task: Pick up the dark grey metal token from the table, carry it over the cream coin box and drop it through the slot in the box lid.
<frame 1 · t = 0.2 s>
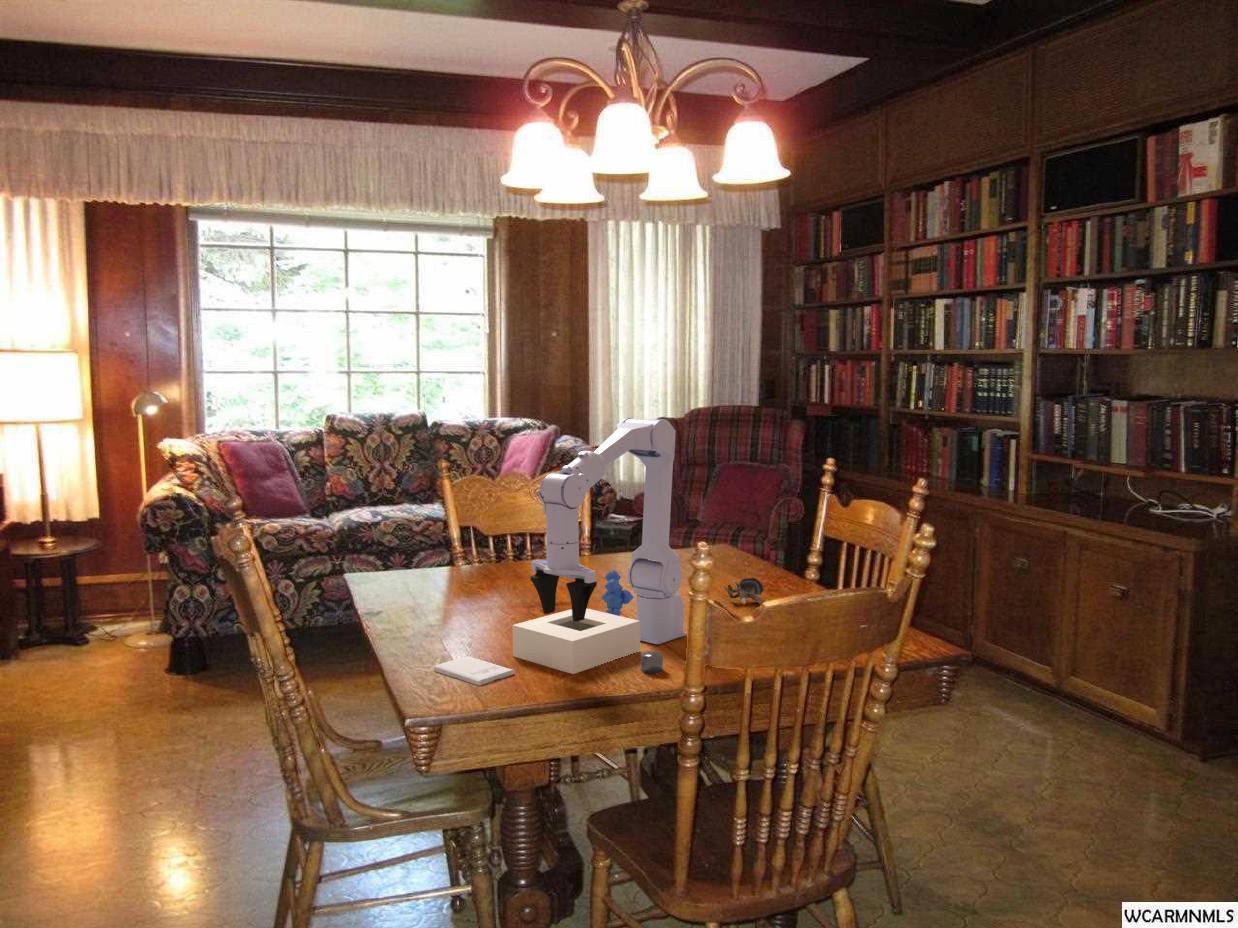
hand: (563, 616, 177), 10 cm above the table, tool pointing down, fingers open, 7 cm apart
token: (651, 670, 178), on the table
grapes: (617, 625, 208), on the table
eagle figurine: (747, 605, 224), on the table
external hard drive: (474, 676, 177), on the table
coin box: (576, 653, 188), on the table
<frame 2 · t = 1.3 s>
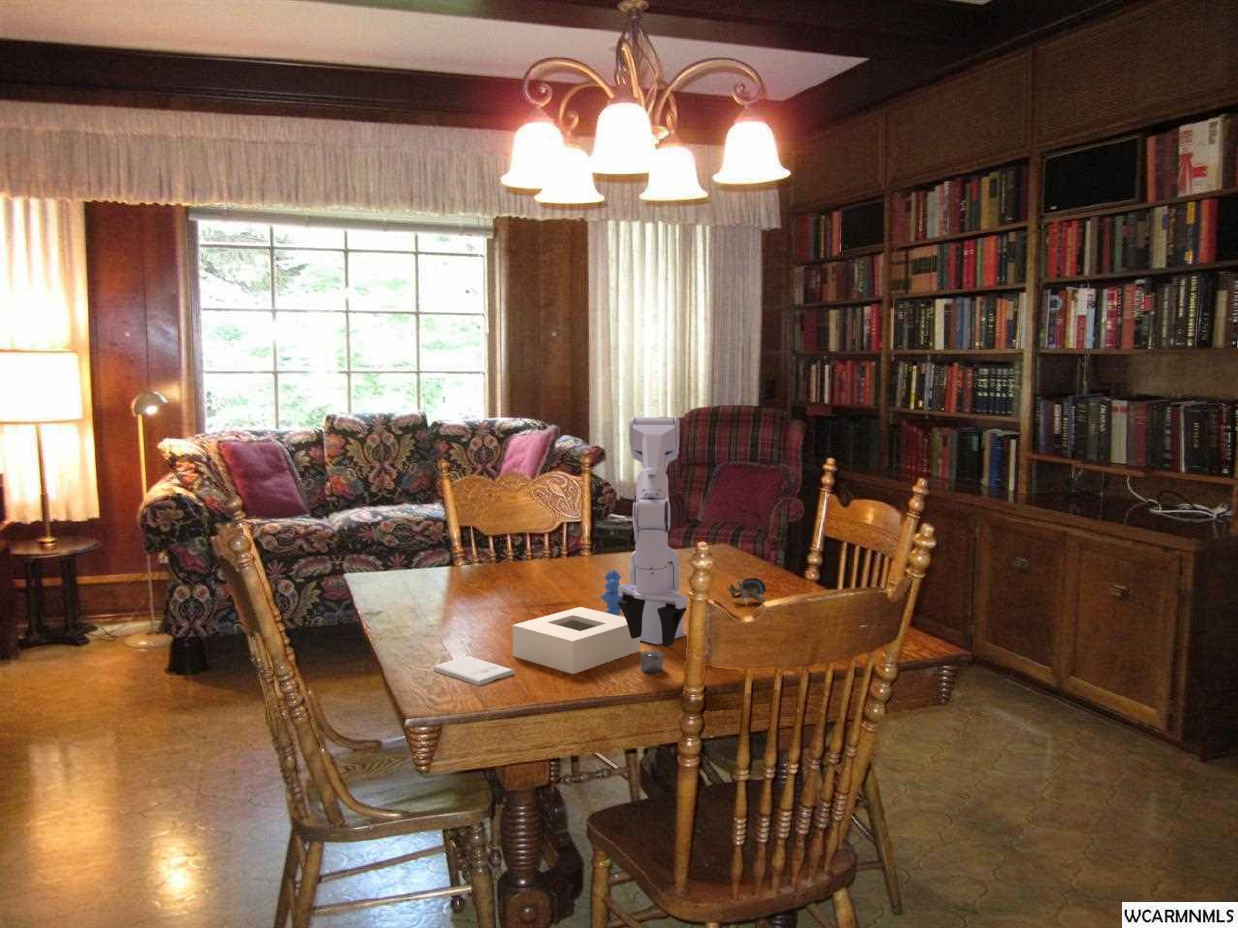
hand: (651, 641, 177), 5 cm above the table, tool pointing down, fingers open, 7 cm apart
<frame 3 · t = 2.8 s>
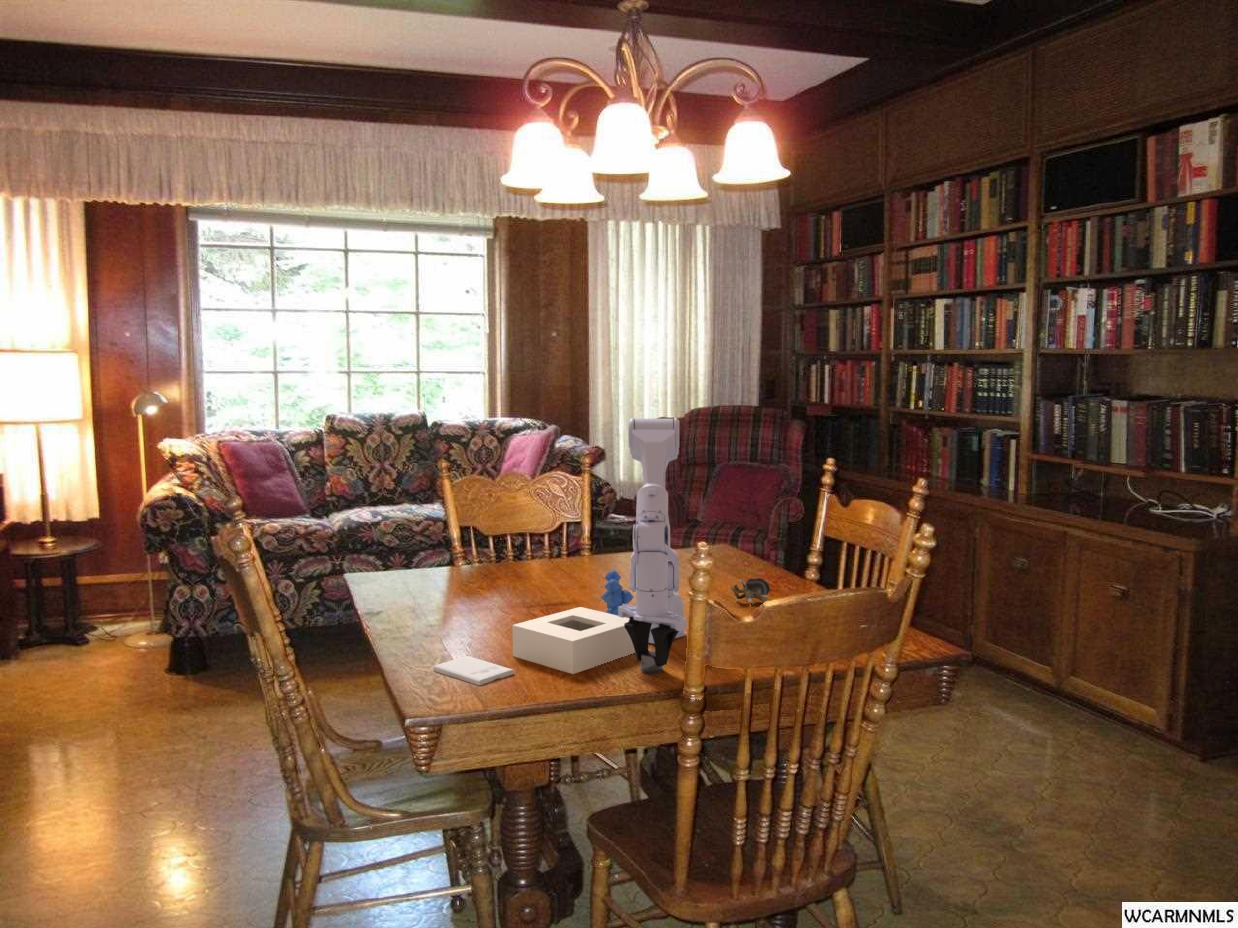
hand: (651, 662, 177), 1 cm above the table, tool pointing down, fingers closed on token, 4 cm apart
token: (651, 670, 178), on the table, touching gripper
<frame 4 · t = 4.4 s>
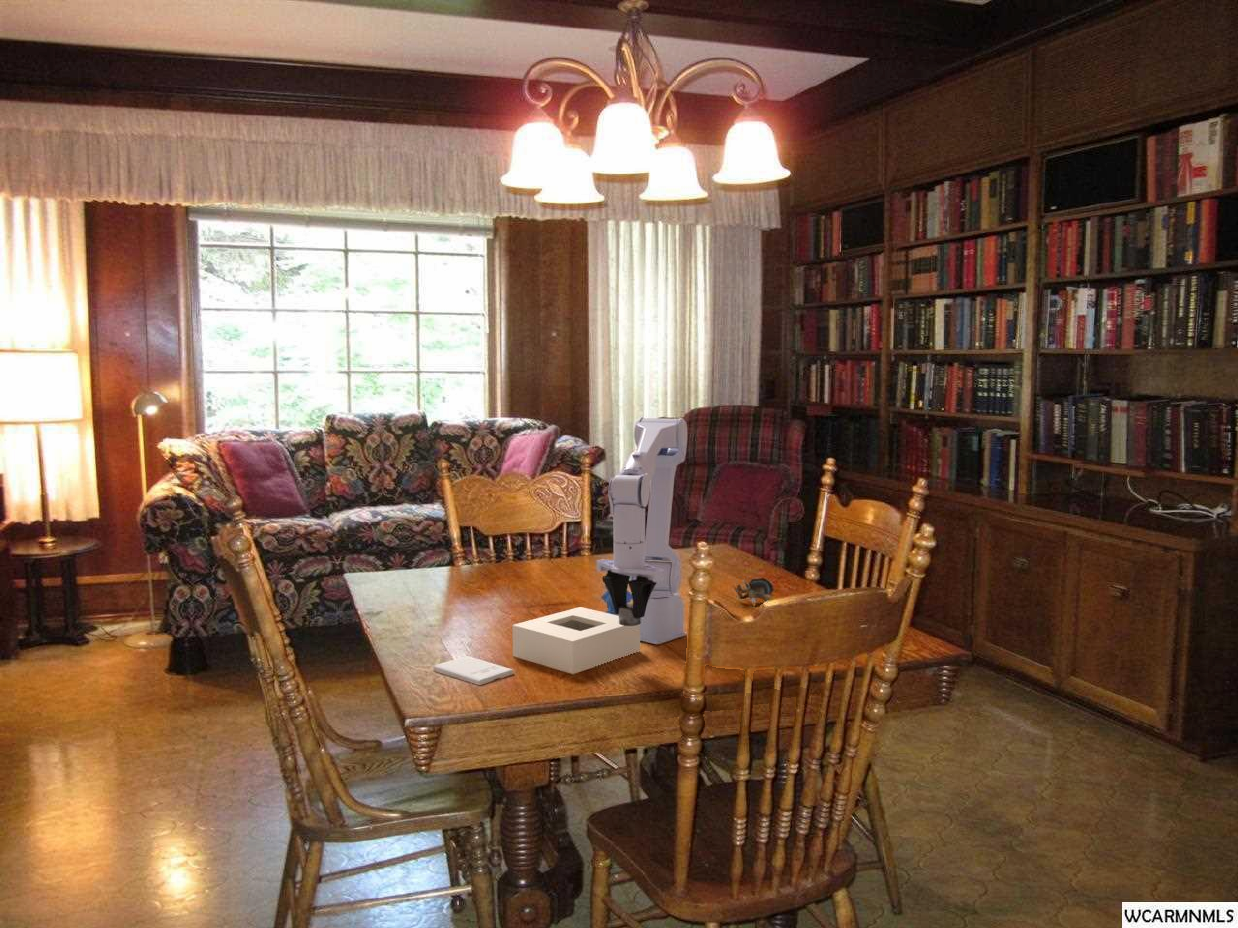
hand: (629, 615, 179), 9 cm above the table, tool pointing down, fingers closed on token, 4 cm apart
token: (629, 622, 180), point 8 cm above the table, touching gripper
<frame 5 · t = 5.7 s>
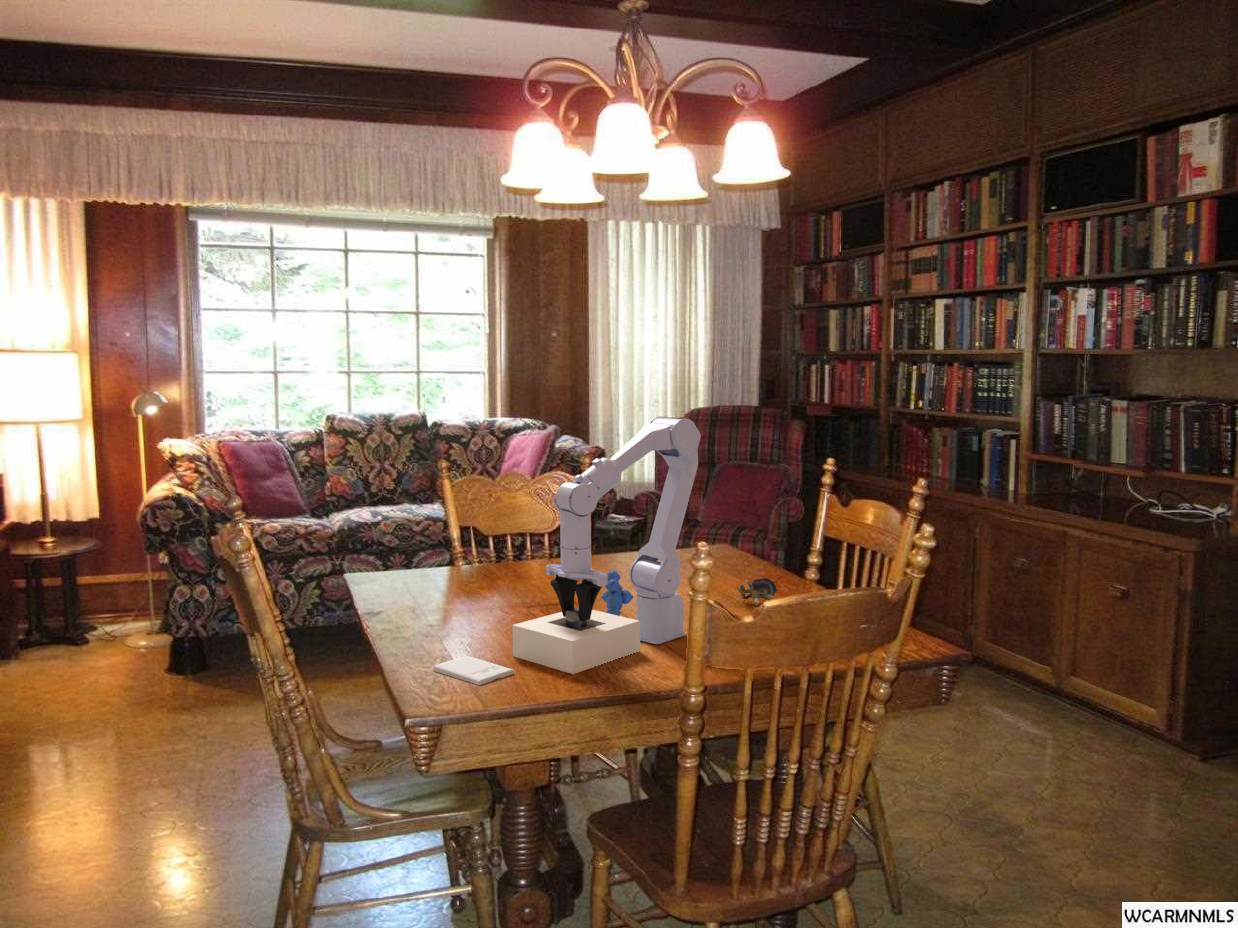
hand: (576, 617, 187), 7 cm above the table, tool pointing down, fingers closed on token, 4 cm apart
token: (576, 625, 187), point 6 cm above the table, touching gripper
when the fingers open (7 cm above the table, at t = 6.3 s): token drops 6 cm, resting in coin box.
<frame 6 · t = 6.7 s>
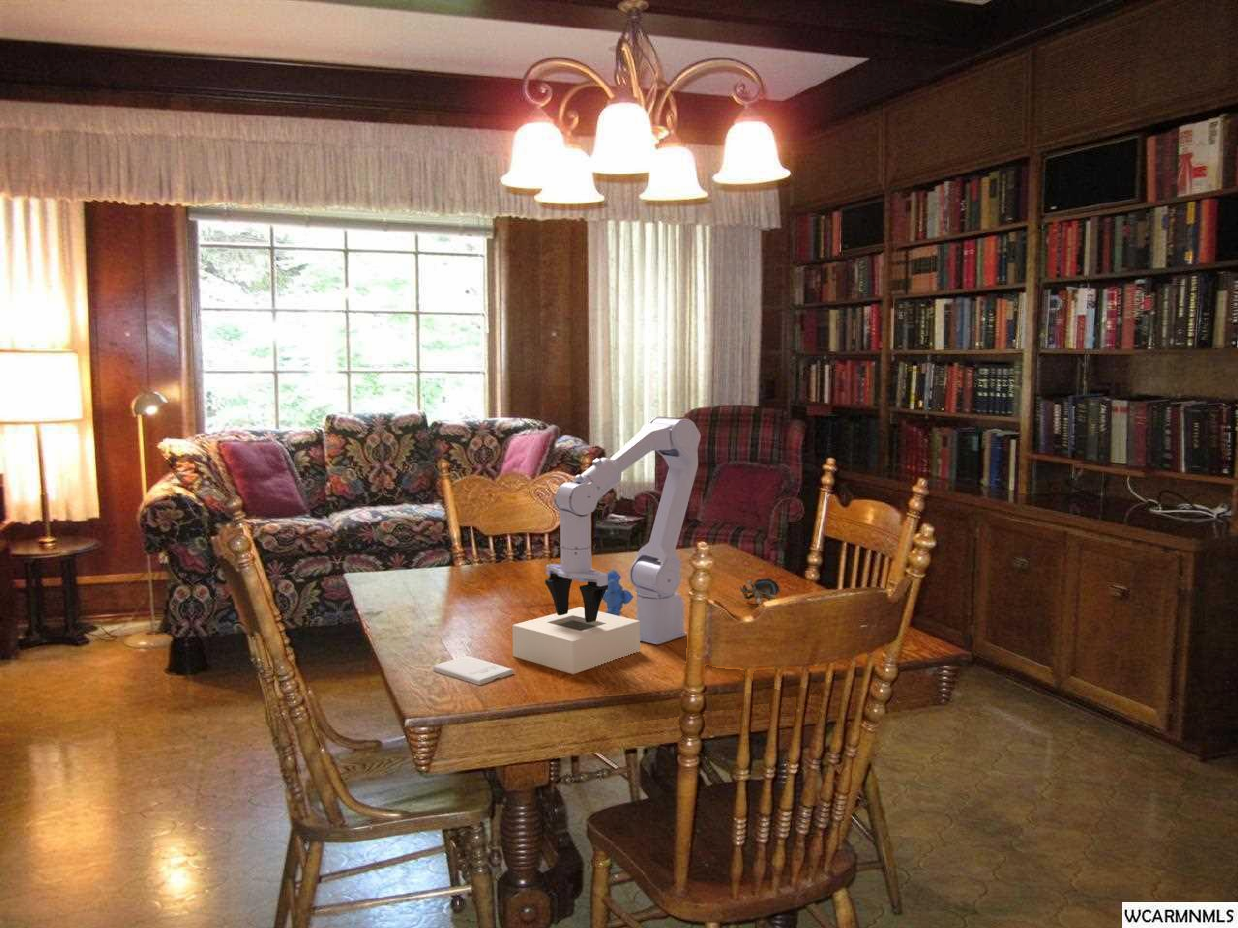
hand: (576, 617, 187), 7 cm above the table, tool pointing down, fingers open, 7 cm apart
token: (575, 654, 188), resting in coin box
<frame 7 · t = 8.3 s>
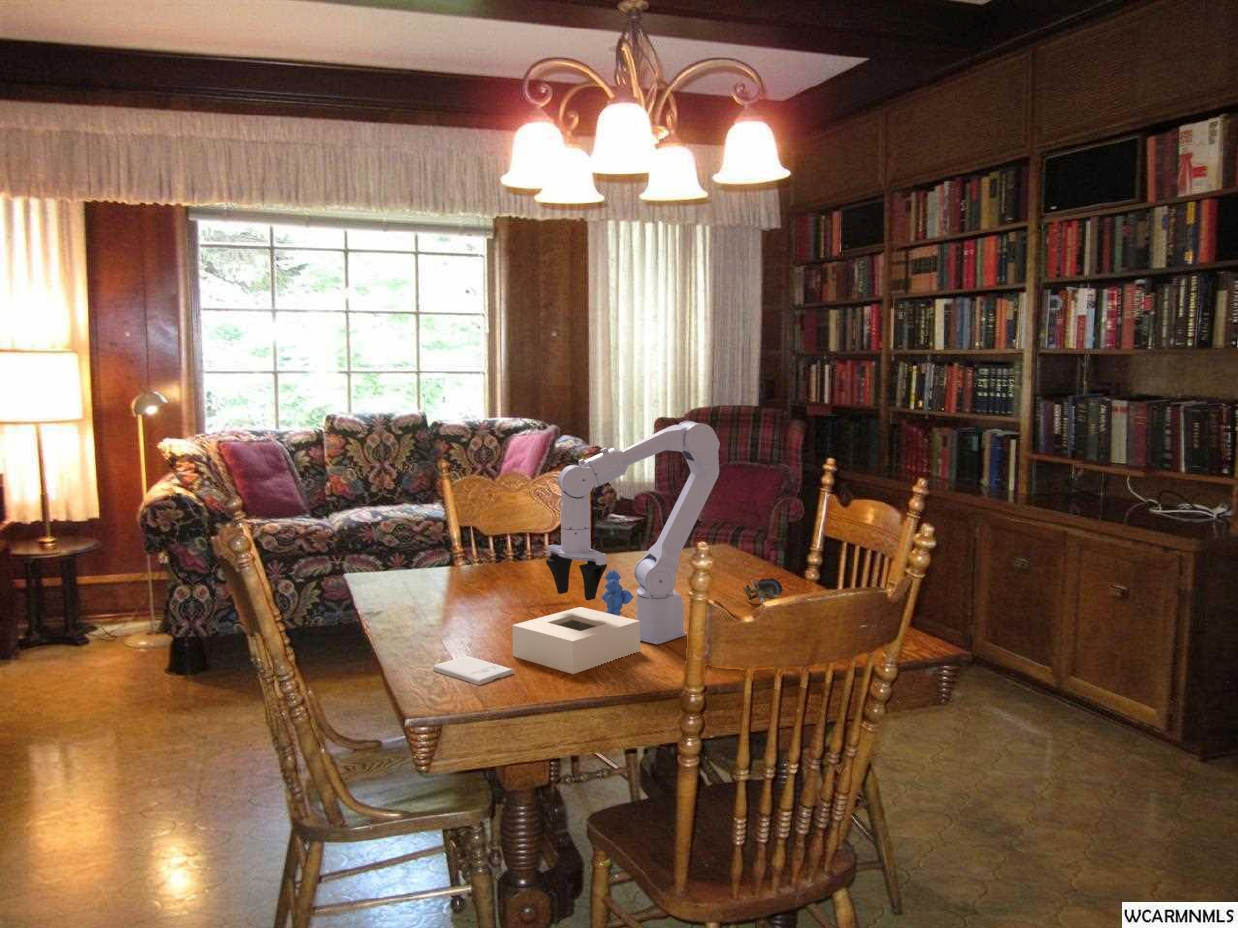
hand: (576, 596, 194), 9 cm above the table, tool pointing down, fingers open, 7 cm apart
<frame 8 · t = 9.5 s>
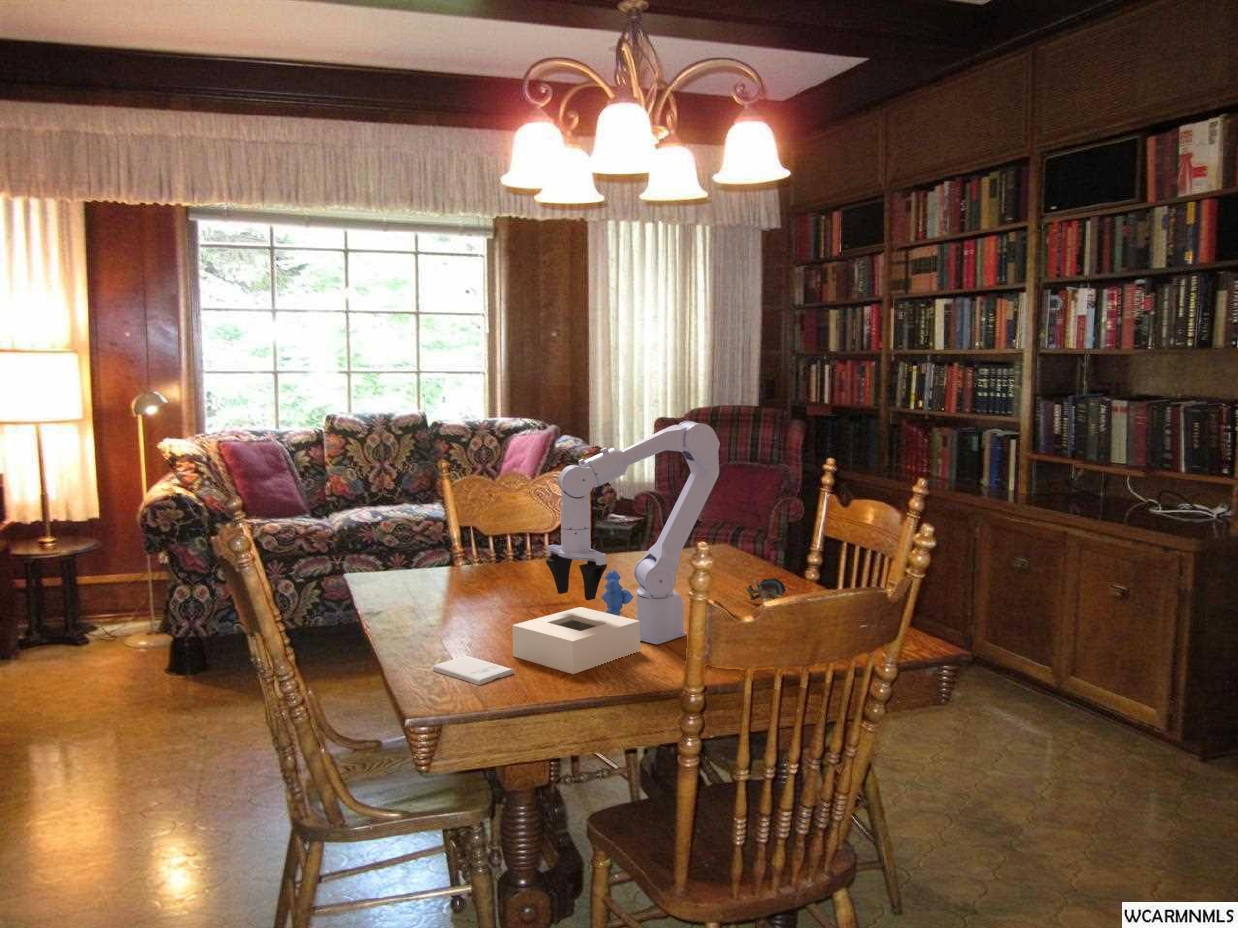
hand: (576, 596, 194), 9 cm above the table, tool pointing down, fingers open, 7 cm apart
at the end: token inside the target area on the coin box (0.2 cm from its centre), point 0.0 cm above the coin box's base; the gripper is holding nothing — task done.
